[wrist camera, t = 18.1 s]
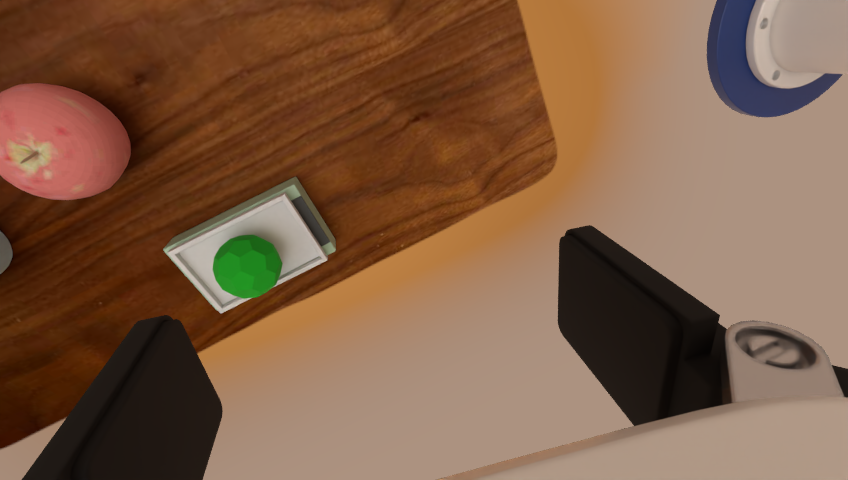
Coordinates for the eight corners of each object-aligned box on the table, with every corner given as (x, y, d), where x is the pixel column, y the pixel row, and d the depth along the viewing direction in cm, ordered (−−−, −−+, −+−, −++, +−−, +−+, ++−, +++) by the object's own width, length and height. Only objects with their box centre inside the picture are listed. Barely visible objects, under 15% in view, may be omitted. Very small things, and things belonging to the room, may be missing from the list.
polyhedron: (294, 265, 36) (289, 295, 31) (240, 286, 35) (229, 319, 31) (266, 216, 33) (257, 241, 29) (209, 238, 33) (191, 266, 29)
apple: (141, 191, 33) (91, 229, 26) (30, 164, 31) (-58, 197, 24) (154, 101, 31) (102, 117, 24) (34, 64, 28) (-62, 69, 21)
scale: (296, 175, 35) (292, 188, 32) (336, 239, 39) (336, 257, 35) (172, 237, 35) (156, 256, 32) (222, 296, 39) (213, 318, 35)
